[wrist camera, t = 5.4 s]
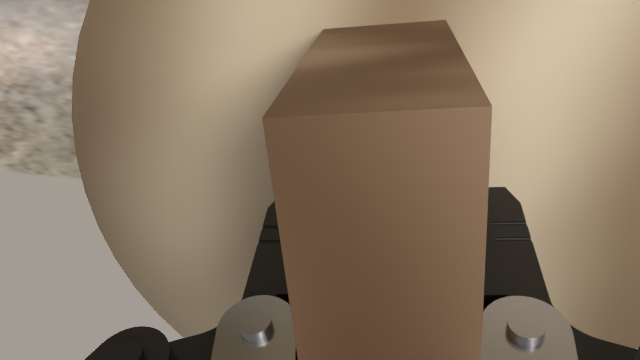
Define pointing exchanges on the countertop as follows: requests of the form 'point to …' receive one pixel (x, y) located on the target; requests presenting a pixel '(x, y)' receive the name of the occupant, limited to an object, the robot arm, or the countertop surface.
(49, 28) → the countertop surface
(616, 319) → the lid
